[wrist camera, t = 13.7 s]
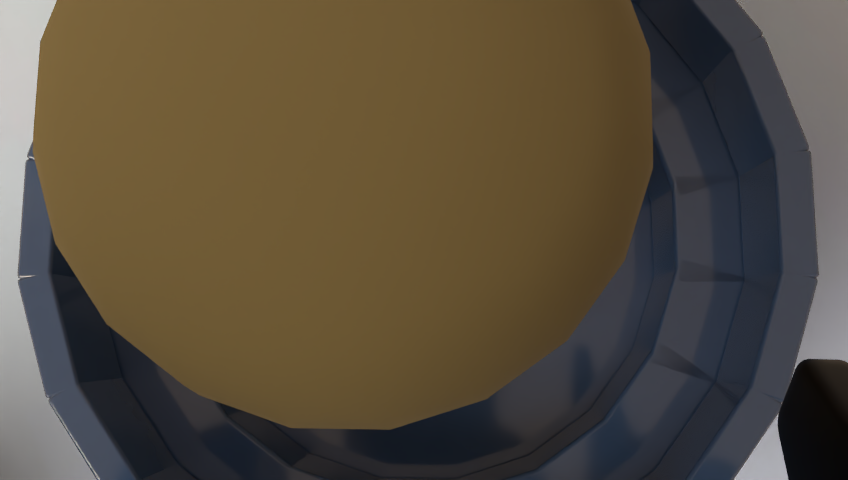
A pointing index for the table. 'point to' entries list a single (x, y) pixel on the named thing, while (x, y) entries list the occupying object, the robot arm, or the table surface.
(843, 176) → the table surface
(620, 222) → the yellow pawn piece
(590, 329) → the bowl
